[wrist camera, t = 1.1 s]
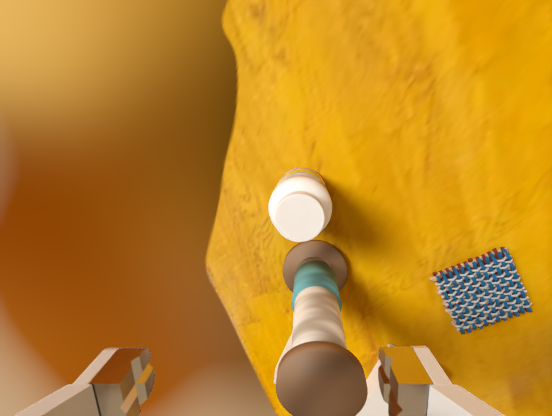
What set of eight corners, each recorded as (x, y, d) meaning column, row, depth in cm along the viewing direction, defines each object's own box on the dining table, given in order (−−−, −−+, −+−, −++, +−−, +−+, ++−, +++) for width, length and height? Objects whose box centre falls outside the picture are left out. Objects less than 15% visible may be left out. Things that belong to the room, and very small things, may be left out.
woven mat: (453, 330, 42) (460, 340, 40) (425, 271, 40) (431, 279, 38) (528, 304, 39) (539, 313, 37) (502, 241, 37) (513, 247, 36)
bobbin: (356, 253, 40) (403, 368, 20) (330, 304, 42) (350, 450, 23) (297, 230, 40) (287, 323, 20) (274, 282, 42) (247, 409, 23)
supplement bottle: (318, 220, 39) (323, 261, 27) (271, 207, 39) (255, 242, 27) (332, 173, 37) (345, 194, 25) (284, 160, 37) (273, 174, 25)
